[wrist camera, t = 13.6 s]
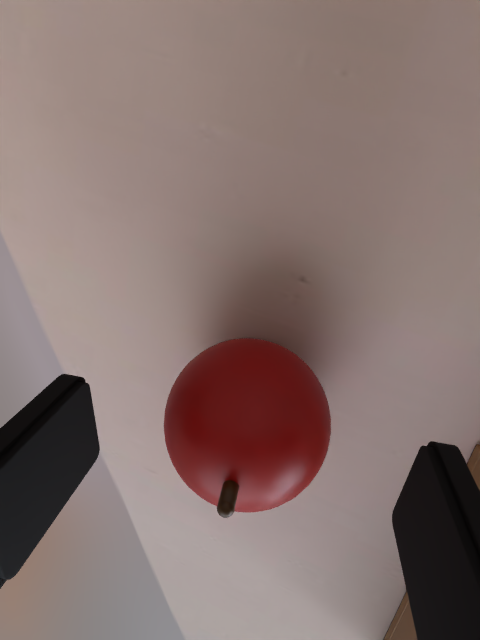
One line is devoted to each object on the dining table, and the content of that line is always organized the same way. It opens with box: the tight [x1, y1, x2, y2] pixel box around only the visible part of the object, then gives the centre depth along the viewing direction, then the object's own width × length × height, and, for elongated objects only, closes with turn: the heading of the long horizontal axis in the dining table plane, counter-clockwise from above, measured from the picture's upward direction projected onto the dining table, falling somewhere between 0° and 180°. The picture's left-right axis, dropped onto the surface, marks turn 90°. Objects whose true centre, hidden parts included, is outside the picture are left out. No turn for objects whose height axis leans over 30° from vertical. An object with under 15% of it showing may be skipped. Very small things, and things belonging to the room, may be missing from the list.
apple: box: [164, 338, 331, 518], centre depth 13 cm, size 6×6×7 cm
